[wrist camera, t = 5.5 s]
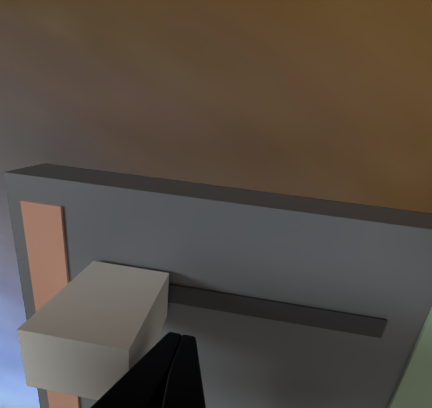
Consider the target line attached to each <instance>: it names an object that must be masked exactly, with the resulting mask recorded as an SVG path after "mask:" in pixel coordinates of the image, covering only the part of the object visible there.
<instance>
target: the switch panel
mask: <svg viewBox="0 0 432 408" xmlns="http://www.w3.org/2000/svg"><path fill="white" fill-rule="evenodd" d="M4 178H5V184H6V191H7V197H8V203H9V210H10V216H11V223H12V229H13V236H14V242H15V248H16V255H17V261H18V268H19V274H20V280H21V287H22V293H23V300H24V306H25V312H26V319H27V320H28V319H29V318H30V317H32V316H33V315H34V314H35V313H36V312H37V311H38V310H39V309H40V308H42V307H43V306H44V305H45V304H46V303H47V302H48V301H49V300H50V299H52V298H53V297H54V296H55V295H56V294H57V293H58V292H59V291H60V290H62V289H63V288H64V287H65V286H66V285H67V284H68V283H69V282H70V281H72V280H73V279H74V278H75V277H76V276H77V275H78V274H79V273H80V272H82V271H83V270H84V269H85V268H86V267H87V266H88V265H89V264H90V263H91V262H93V261H97V262H103V263H110V264H116V265H122V266H128V267H135V268H141V269H147V270H153V271H160V272H166V273H169V287H168V307H167V317H166V320H165V322H164V325H163V327H162V329H161V332H160V334H159V336H158V339H157V341H156V344H157V343H158V342H159V341H160V340H161V339H162V338H163V337H164V336H165V335H166V334H167V333H168V332H174V333H180V334H181V335H184V334H185V335H190V336H195V338H196V343H197V350H198V356H199V363H200V370H201V377H202V384H203V391H204V398H205V404H206V408H432V214H430V213H422V212H414V211H407V210H399V209H391V208H384V207H376V206H368V205H360V204H353V203H345V202H337V201H329V200H322V199H314V198H306V197H299V196H291V195H283V194H275V193H268V192H260V191H252V190H244V189H237V188H229V187H221V186H213V185H206V184H198V183H190V182H183V181H175V180H167V179H159V178H152V177H144V176H136V175H128V174H121V173H113V172H105V171H98V170H90V169H82V168H74V167H67V166H59V165H51V164H40V165H35V166H30V167H26V168H21V169H16V170H11V171H7V172H4ZM156 344H155V345H156ZM37 389H38V396H39V402H40V408H90V407H91V406H92V405H93V404H94V403H96V402H97V401H98V400H94V399H89V398H84V397H79V396H74V395H70V394H65V393H60V392H55V391H50V390H45V389H41V388H37Z"/></svg>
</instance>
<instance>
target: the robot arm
mask: <svg viewBox="0 0 432 408" xmlns="http://www.w3.org/2000/svg"><path fill="white" fill-rule="evenodd" d="M90 408H206V404H205V398H204V391H203V384H202V377H201V370H200V363H199V356H198V350H197V343H196V338H195V336H190V335H185V334H184V335H181V334H180V333H174V332H168V333H167V334H166V335H165V336H164V337H163V338H162V339H161V340H160V341H159V342H158V343H157V344H156V345H155V346H154V347H153V348H151V349H150V350H149V351H148V352H147V353H146V354H145V355H144V356H143V357H142V358H141V359H140V360H139V361H138V362H137V363H136V364H135V365H134V366H133V367H132V368H131V369H130V370H129V371H128V372H127V373H126V374H125V375H123V376H122V377H121V378H120V379H119V380H118V381H117V382H116V383H115V384H114V385H113V386H112V387H111V388H110V389H109V390H108V391H107V392H106V393H105V394H104V395H103V396H102V397H101V398H100V399H99V400H98V401H97V402H96V403H94V404H93V405H92V406H91V407H90Z"/></svg>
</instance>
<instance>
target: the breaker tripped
mask: <svg viewBox="0 0 432 408" xmlns="http://www.w3.org/2000/svg"><path fill="white" fill-rule="evenodd" d="M168 287H169V273H166V272H160V271H153V270H147V269H141V268H135V267H128V266H122V265H116V264H110V263H103V262H97V261H93V262H91V263H90V264H89V265H88V266H87V267H86V268H85V269H84V270H83V271H82V272H80V273H79V274H78V275H77V276H76V277H75V278H74V279H73V280H72V281H70V282H69V283H68V284H67V285H66V286H65V287H64V288H63V289H62V290H60V291H59V292H58V293H57V294H56V295H55V296H54V297H53V298H52V299H50V300H49V301H48V302H47V303H46V304H45V305H44V306H43V307H42V308H40V309H39V310H38V311H37V312H36V313H35V314H34V315H33V316H32V317H30V318H29V319H28V320H27V321H26V322H25V323H24V324H23V325H22V326H21V327H19V328H18V329H17V331H18V337H19V343H20V348H21V354H22V360H23V366H24V372H25V377H26V383H27V386H31V387H36V388H41V389H45V390H50V391H55V392H60V393H65V394H70V395H74V396H79V397H84V398H89V399H94V400H99V399H100V398H101V397H102V396H103V395H104V394H105V393H106V392H107V391H108V390H109V389H110V388H111V387H112V386H113V385H114V384H115V383H116V382H117V381H118V380H119V379H120V378H121V377H122V376H123V375H125V374H126V373H127V372H128V371H129V370H130V369H131V368H132V367H133V366H134V365H135V364H136V363H137V362H138V361H139V360H140V359H141V358H142V357H143V356H144V355H145V354H146V353H147V352H148V351H149V350H150V349H151V348H153V347H154V346H155V344H156V341H157V339H158V336H159V334H160V332H161V329H162V327H163V325H164V322H165V320H166V317H167V307H168Z"/></svg>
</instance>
